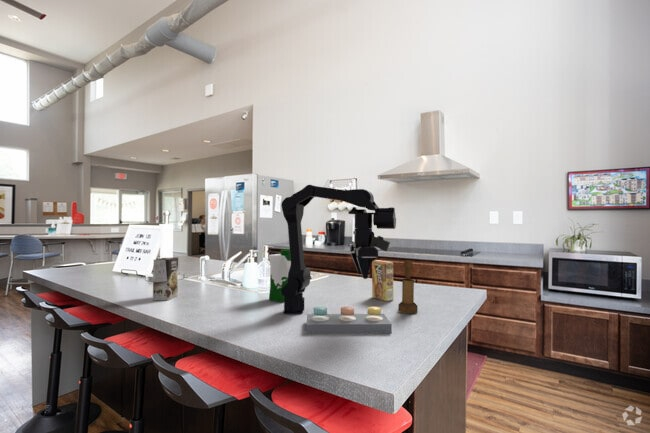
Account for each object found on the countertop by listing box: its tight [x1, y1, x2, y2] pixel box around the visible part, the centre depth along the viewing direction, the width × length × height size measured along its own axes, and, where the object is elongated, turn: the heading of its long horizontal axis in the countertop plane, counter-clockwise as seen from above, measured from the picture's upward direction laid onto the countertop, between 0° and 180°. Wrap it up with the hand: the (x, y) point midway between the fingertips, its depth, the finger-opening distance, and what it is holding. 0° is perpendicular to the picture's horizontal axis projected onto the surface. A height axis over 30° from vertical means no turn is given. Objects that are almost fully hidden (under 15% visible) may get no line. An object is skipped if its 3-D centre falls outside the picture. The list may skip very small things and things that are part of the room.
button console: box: [305, 313, 393, 334], centre depth 103 cm, size 24×11×3 cm, turn 92°
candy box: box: [371, 259, 395, 302], centre depth 141 cm, size 9×4×15 cm, turn 33°
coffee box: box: [152, 257, 179, 301], centre depth 141 cm, size 9×6×16 cm
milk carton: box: [268, 249, 291, 303], centre depth 139 cm, size 9×9×20 cm
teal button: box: [313, 306, 328, 316], centre depth 103 cm, size 4×4×2 cm
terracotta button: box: [340, 306, 355, 316], centre depth 103 cm, size 4×4×2 cm
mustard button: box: [366, 306, 382, 316], centre depth 103 cm, size 4×4×2 cm
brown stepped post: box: [397, 259, 418, 315], centre depth 122 cm, size 7×6×18 cm
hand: (362, 276), depth 113 cm, fingers open, 9 cm apart
